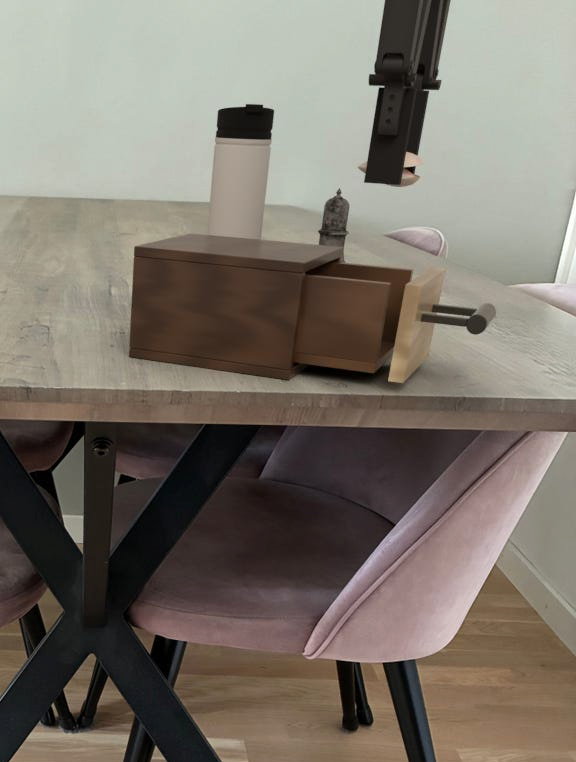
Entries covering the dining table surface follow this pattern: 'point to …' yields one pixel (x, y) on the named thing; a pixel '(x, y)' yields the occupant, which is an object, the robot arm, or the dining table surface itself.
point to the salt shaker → (334, 222)
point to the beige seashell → (406, 175)
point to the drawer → (375, 317)
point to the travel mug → (240, 171)
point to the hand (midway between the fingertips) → (389, 181)
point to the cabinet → (222, 302)
